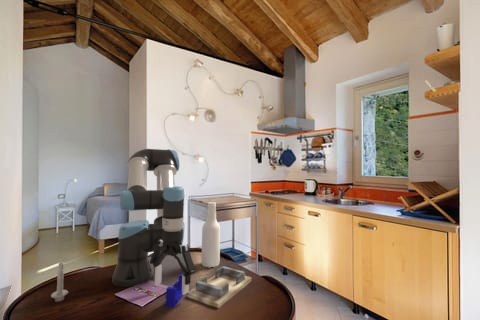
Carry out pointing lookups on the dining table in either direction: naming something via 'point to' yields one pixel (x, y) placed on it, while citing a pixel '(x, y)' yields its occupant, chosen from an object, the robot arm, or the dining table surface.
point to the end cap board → (219, 286)
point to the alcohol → (211, 239)
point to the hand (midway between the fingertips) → (171, 288)
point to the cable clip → (174, 293)
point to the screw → (60, 285)
